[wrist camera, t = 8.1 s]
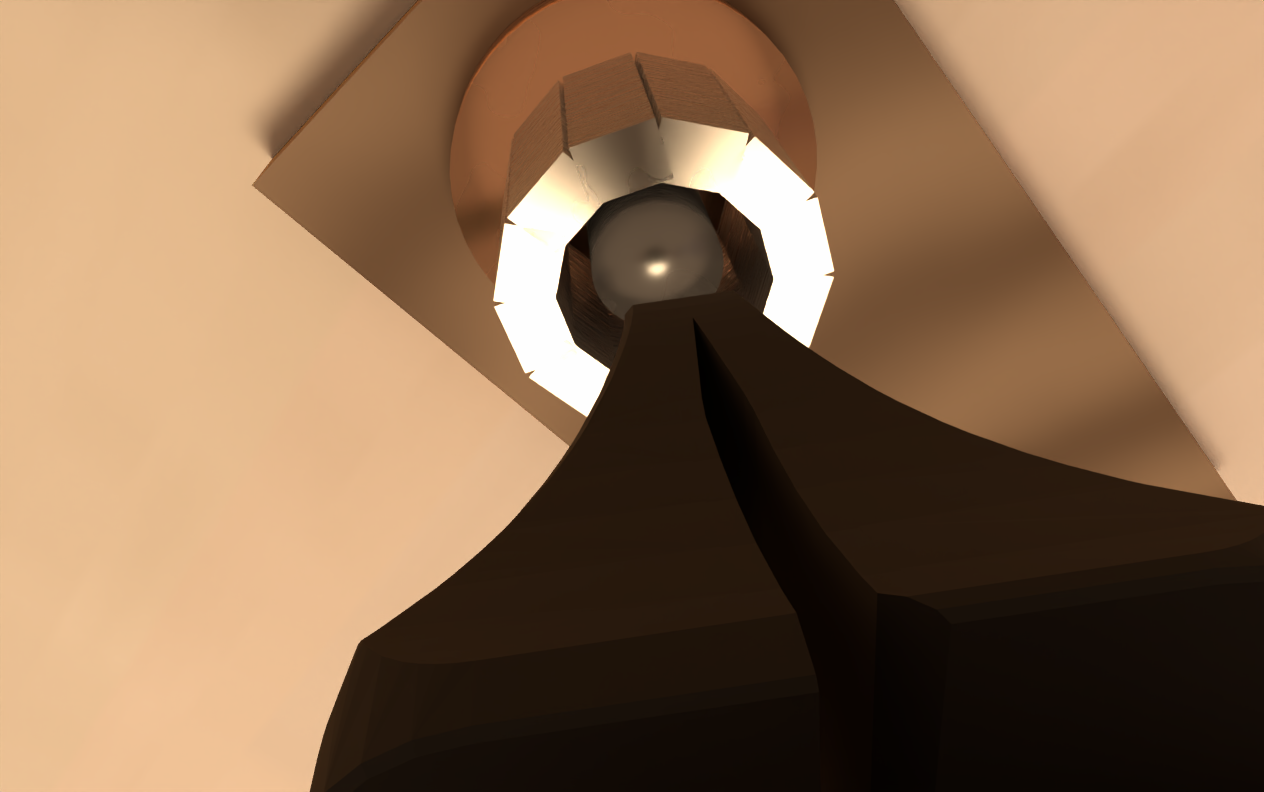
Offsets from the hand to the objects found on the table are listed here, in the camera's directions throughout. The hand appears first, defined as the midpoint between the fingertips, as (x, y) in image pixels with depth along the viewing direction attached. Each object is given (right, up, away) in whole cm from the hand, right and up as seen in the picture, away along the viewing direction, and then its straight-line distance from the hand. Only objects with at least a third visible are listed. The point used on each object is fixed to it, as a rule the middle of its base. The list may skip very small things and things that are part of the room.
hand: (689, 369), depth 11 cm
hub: (-1, +4, +7) cm, 8 cm away
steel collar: (-1, +3, +6) cm, 7 cm away
